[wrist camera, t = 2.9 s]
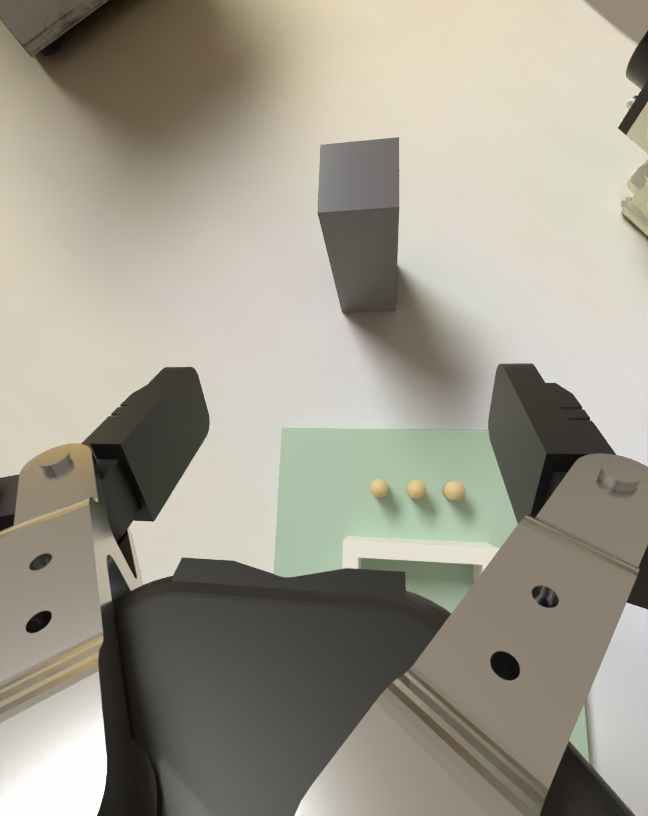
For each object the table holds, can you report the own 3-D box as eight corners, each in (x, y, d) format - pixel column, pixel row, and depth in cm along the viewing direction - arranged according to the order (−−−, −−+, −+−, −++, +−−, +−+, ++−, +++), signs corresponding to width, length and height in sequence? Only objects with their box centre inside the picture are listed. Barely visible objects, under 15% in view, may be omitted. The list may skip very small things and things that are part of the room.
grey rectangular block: (395, 310, 27) (399, 206, 18) (342, 312, 28) (317, 212, 18) (395, 262, 28) (399, 137, 18) (343, 265, 28) (320, 145, 19)
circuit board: (587, 845, 20) (628, 916, 17) (265, 797, 22) (244, 850, 19) (553, 433, 24) (580, 422, 21) (285, 430, 27) (271, 420, 23)
